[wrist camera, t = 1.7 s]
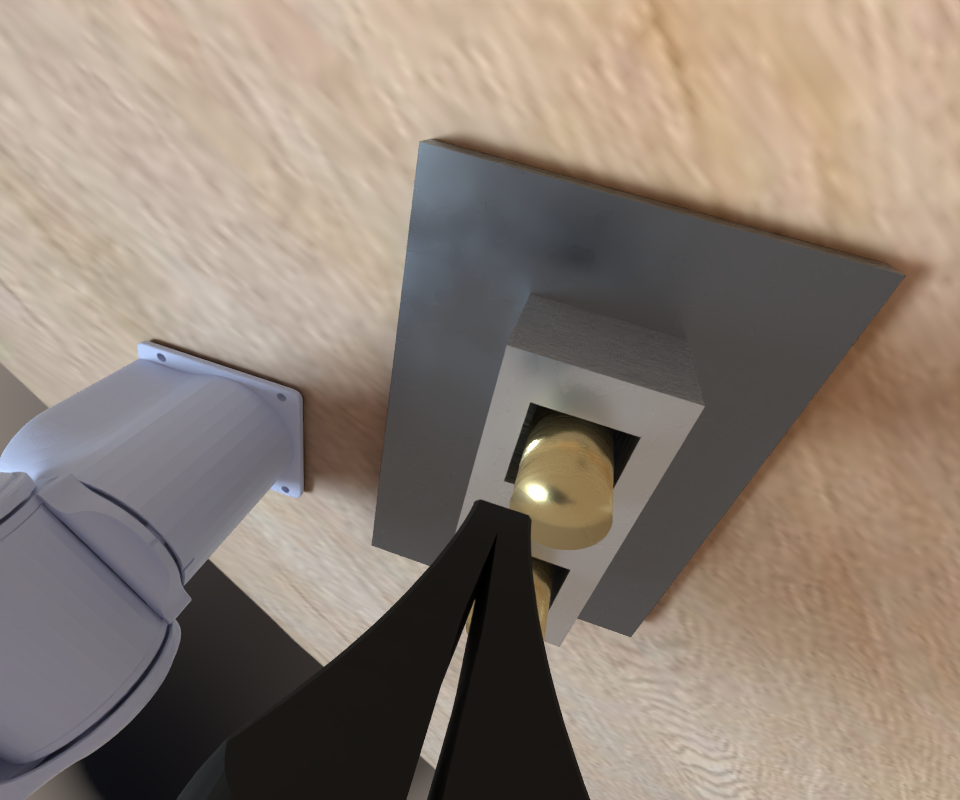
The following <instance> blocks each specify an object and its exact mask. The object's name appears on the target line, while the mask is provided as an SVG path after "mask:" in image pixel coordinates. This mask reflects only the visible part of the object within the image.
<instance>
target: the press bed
mask: <svg viewBox="0 0 960 800" xmlns="http://www.w3.org/2000/svg"><path fill="white" fill-rule="evenodd" d="M904 277H905V275H904V274H902V273H901V272H899V271H898V270H896V269H894V268H893V267H891V266H890V265H888V264H885V263H882V262H878V261H874V260H871V259H867V258H863V257H860V256H856V255H852V254H849V253H845V252H842V251H838V250H834V249H831V248H827V247H823V246H820V245H816V244H812V243H809V242H805V241H801V240H798V239H794V238H791V237H787V236H783V235H780V234H776V233H772V232H769V231H765V230H761V229H758V228H754V227H750V226H747V225H743V224H740V223H736V222H732V221H729V220H725V219H721V218H718V217H714V216H710V215H707V214H703V213H699V212H696V211H692V210H689V209H685V208H681V207H678V206H674V205H670V204H667V203H663V202H659V201H656V200H652V199H648V198H645V197H641V196H638V195H634V194H630V193H627V192H623V191H619V190H616V189H612V188H608V187H605V186H601V185H597V184H594V183H590V182H587V181H583V180H579V179H576V178H572V177H568V176H565V175H561V174H557V173H554V172H550V171H546V170H543V169H539V168H536V167H532V166H528V165H525V164H521V163H517V162H514V161H510V160H506V159H503V158H499V157H495V156H492V155H488V154H485V153H481V152H477V151H474V150H470V149H466V148H463V147H459V146H455V145H452V144H448V143H444V142H441V141H437V140H434V139H428V140H424V141H420V142H419V150H418V158H417V167H416V175H415V183H414V192H413V200H412V209H411V217H410V226H409V234H408V243H407V251H406V259H405V268H404V276H403V285H402V293H401V302H400V310H399V319H398V327H397V335H396V344H395V352H394V361H393V369H392V378H391V386H390V395H389V403H388V412H387V420H386V428H385V437H384V445H383V454H382V462H381V471H380V479H379V488H378V496H377V504H376V513H375V521H374V530H373V538H372V546H375V547H378V548H381V549H383V550H386V551H389V552H392V553H395V554H398V555H400V556H403V557H406V558H409V559H412V560H414V561H417V562H420V563H423V564H426V565H429V566H430V565H431V564H432V563H433V562H434V561H435V559H436V558H437V557H438V556H439V554H440V553H441V552H442V551H443V549H444V548H445V547H446V546H447V544H448V543H449V542H450V540H451V539H452V538H453V536H454V535H455V532H456V528H457V525H458V521H459V518H460V514H461V510H462V507H463V503H464V499H465V496H466V492H467V488H468V485H469V481H470V477H471V474H472V470H473V467H474V463H475V459H476V456H477V452H478V448H479V445H480V441H481V437H482V434H483V430H484V427H485V423H486V419H487V416H488V412H489V408H490V405H491V401H492V397H493V394H494V390H495V386H496V383H497V379H498V376H499V372H500V368H501V365H502V361H503V357H504V354H505V350H506V346H507V344H508V341H509V339H510V337H511V335H512V333H513V330H514V328H515V326H516V324H517V321H518V319H519V317H520V315H521V313H522V310H523V308H524V306H525V304H526V301H527V299H528V297H529V295H530V293H531V294H534V295H537V296H541V297H544V298H547V299H551V300H554V301H557V302H561V303H564V304H567V305H571V306H574V307H578V308H581V309H584V310H588V311H591V312H594V313H598V314H601V315H604V316H608V317H611V318H614V319H618V320H621V321H625V322H628V323H631V324H635V325H638V326H641V327H645V328H648V329H651V330H655V331H658V332H661V333H665V334H668V335H671V336H675V337H678V338H682V339H685V340H687V341H688V345H689V349H690V352H691V356H692V360H693V364H694V367H695V371H696V375H697V378H698V382H699V386H700V389H701V393H702V397H703V401H704V404H705V407H704V409H703V411H702V412H701V414H700V415H699V417H698V419H697V420H696V422H695V424H694V425H693V427H692V429H691V430H690V432H689V434H688V435H687V437H686V439H685V440H684V442H683V444H682V445H681V447H680V449H679V450H678V452H677V454H676V455H675V457H674V458H673V460H672V462H671V463H670V465H669V467H668V468H667V470H666V472H665V473H664V475H663V477H662V478H661V480H660V482H659V483H658V485H657V487H656V488H655V490H654V492H653V493H652V495H651V497H650V498H649V500H648V502H647V503H646V505H645V506H644V508H643V510H642V511H641V513H640V515H639V516H638V518H637V520H636V521H635V523H634V525H633V526H632V528H631V530H630V531H629V533H628V535H627V536H626V538H625V540H624V541H623V543H622V545H621V546H620V548H619V549H618V551H617V553H616V554H615V556H614V558H613V559H612V561H611V563H610V564H609V566H608V568H607V569H606V571H605V573H604V574H603V576H602V578H601V579H600V581H599V583H598V584H597V586H596V588H595V589H594V591H593V592H592V594H591V596H590V597H589V599H588V601H587V602H586V604H585V606H584V607H583V609H582V611H581V612H580V614H579V616H578V617H577V618H578V619H581V620H584V621H586V622H589V623H592V624H595V625H598V626H601V627H603V628H606V629H609V630H612V631H615V632H617V633H620V634H623V635H626V636H629V637H631V636H632V635H633V634H634V632H635V631H636V630H637V628H638V627H639V626H640V624H641V623H642V622H643V620H644V619H645V618H646V617H647V615H648V614H649V613H650V611H651V610H652V609H653V607H654V606H655V605H656V603H657V602H658V601H659V599H660V598H661V597H662V595H663V594H664V593H665V592H666V590H667V589H668V588H669V586H670V585H671V584H672V582H673V581H674V580H675V578H676V577H677V576H678V574H679V573H680V572H681V570H682V569H683V568H684V567H685V565H686V564H687V563H688V561H689V560H690V559H691V557H692V556H693V555H694V553H695V552H696V551H697V549H698V548H699V547H700V545H701V544H702V543H703V542H704V540H705V539H706V538H707V536H708V535H709V534H710V532H711V531H712V530H713V528H714V527H715V526H716V524H717V523H718V522H719V520H720V519H721V518H722V516H723V515H724V514H725V513H726V511H727V510H728V509H729V507H730V506H731V505H732V503H733V502H734V501H735V499H736V498H737V497H738V495H739V494H740V493H741V491H742V490H743V489H744V488H745V486H746V485H747V484H748V482H749V481H750V480H751V478H752V477H753V476H754V474H755V473H756V472H757V470H758V469H759V468H760V466H761V465H762V464H763V463H764V461H765V460H766V459H767V457H768V456H769V455H770V453H771V452H772V451H773V449H774V448H775V447H776V445H777V444H778V443H779V441H780V440H781V439H782V437H783V436H784V435H785V434H786V432H787V431H788V430H789V428H790V427H791V426H792V424H793V423H794V422H795V420H796V419H797V418H798V416H799V415H800V414H801V412H802V411H803V410H804V409H805V407H806V406H807V405H808V403H809V402H810V401H811V399H812V398H813V397H814V395H815V394H816V393H817V391H818V390H819V389H820V387H821V386H822V385H823V384H824V382H825V381H826V380H827V378H828V377H829V376H830V374H831V373H832V372H833V370H834V369H835V368H836V366H837V365H838V364H839V362H840V361H841V360H842V359H843V357H844V356H845V355H846V353H847V352H848V351H849V349H850V348H851V347H852V345H853V344H854V343H855V341H856V340H857V339H858V337H859V336H860V335H861V333H862V332H863V331H864V330H865V328H866V327H867V326H868V324H869V323H870V322H871V320H872V319H873V318H874V316H875V315H876V314H877V312H878V311H879V310H880V308H881V307H882V306H883V305H884V303H885V302H886V301H887V299H888V298H889V297H890V295H891V294H892V293H893V291H894V290H895V289H896V287H897V286H898V285H899V283H900V282H901V281H902V280H903V278H904ZM539 406H540V405H537V404H534V403H531V402H530V404H529V407H528V410H527V414H530V415H534V413H535V411H536V409H537V408H538V407H539Z"/></svg>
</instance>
